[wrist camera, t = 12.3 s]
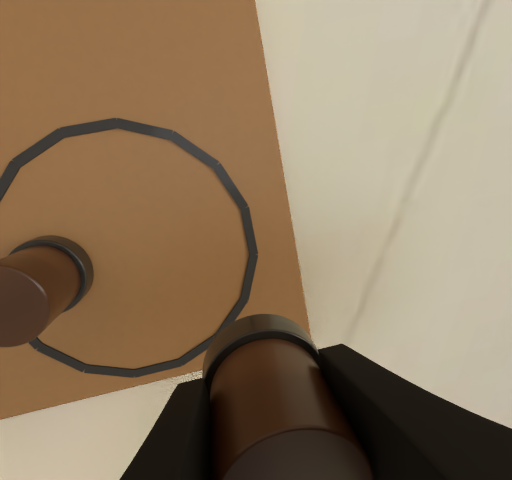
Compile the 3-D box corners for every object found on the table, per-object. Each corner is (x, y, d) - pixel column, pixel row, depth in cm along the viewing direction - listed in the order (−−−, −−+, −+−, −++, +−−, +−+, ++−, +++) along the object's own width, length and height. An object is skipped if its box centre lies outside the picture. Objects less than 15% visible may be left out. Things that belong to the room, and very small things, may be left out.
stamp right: (335, 379, 10) (414, 512, 6) (240, 436, 10) (260, 605, 6) (283, 291, 9) (337, 379, 5) (179, 352, 9) (160, 485, 5)
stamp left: (109, 282, 15) (76, 321, 12) (46, 319, 15) (-8, 371, 12) (64, 221, 15) (12, 240, 11) (-3, 259, 15) (-79, 293, 11)
